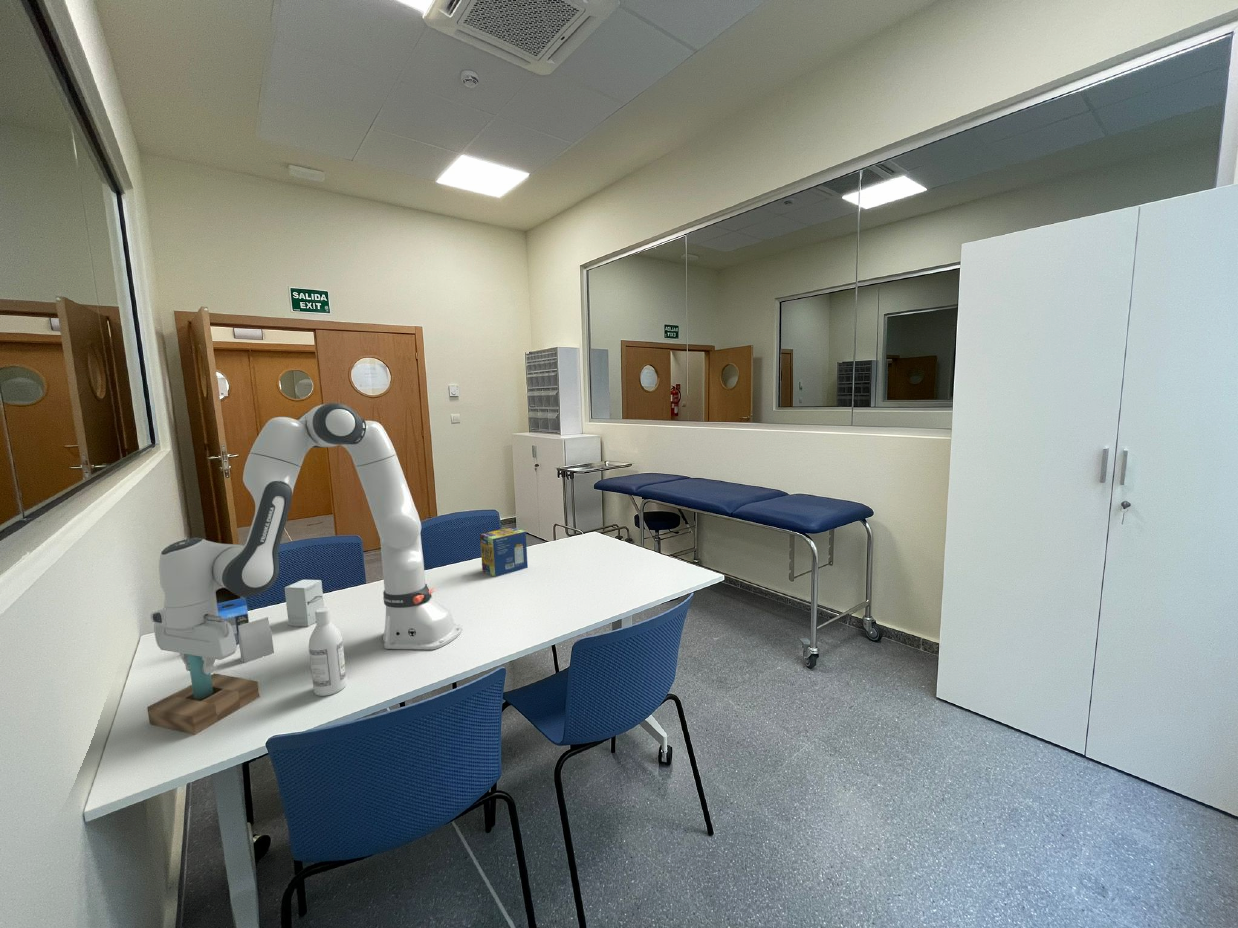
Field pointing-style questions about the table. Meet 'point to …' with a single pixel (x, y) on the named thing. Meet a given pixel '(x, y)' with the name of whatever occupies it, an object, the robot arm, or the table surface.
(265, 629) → the white carton
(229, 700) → the socket block
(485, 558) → the protein box
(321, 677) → the bath foam
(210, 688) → the peg
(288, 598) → the supplement box
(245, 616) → the label tape box
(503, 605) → the table surface
